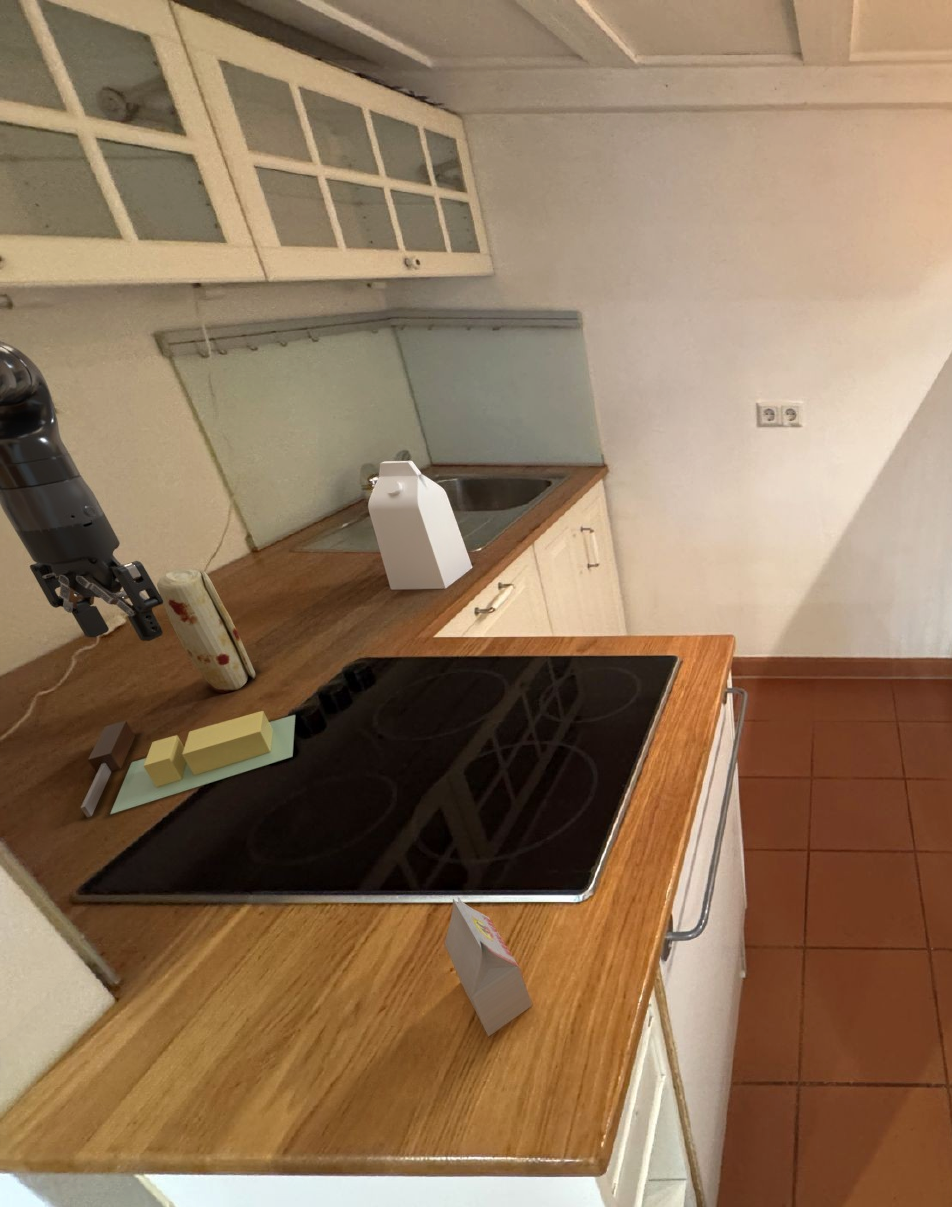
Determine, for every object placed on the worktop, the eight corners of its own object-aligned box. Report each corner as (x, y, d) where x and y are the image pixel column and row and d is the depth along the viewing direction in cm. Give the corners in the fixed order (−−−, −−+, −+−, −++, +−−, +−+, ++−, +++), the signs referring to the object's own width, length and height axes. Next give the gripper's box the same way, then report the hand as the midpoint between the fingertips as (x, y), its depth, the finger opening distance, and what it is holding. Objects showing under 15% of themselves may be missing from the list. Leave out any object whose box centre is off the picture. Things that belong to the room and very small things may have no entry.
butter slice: (156, 787, 83) (143, 765, 82) (164, 762, 88) (152, 741, 86) (182, 779, 85) (169, 757, 83) (189, 755, 89) (177, 734, 88)
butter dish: (113, 820, 80) (109, 814, 79) (135, 768, 89) (131, 762, 88) (295, 762, 89) (292, 756, 88) (297, 720, 98) (295, 714, 97)
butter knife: (80, 826, 79) (64, 803, 77) (117, 746, 93) (104, 726, 91) (105, 818, 80) (90, 796, 78) (138, 741, 94) (126, 720, 93)
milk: (472, 567, 151) (440, 454, 139) (445, 588, 140) (408, 468, 129) (421, 568, 151) (384, 456, 140) (390, 589, 141) (348, 469, 129)
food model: (206, 680, 109) (148, 569, 100) (257, 666, 113) (205, 557, 104) (208, 705, 102) (146, 588, 93) (262, 688, 106) (207, 575, 97)
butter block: (194, 775, 85) (181, 754, 84) (200, 752, 90) (188, 731, 88) (270, 752, 89) (260, 731, 88) (273, 730, 94) (263, 710, 92)
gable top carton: (490, 1042, 55) (458, 963, 50) (463, 988, 59) (430, 911, 55) (534, 1011, 57) (506, 933, 52) (504, 961, 61) (476, 884, 57)
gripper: (-29, 527, 76) (47, 647, 84) (71, 529, 74) (140, 653, 81) (48, 507, 83) (112, 620, 90) (142, 509, 81) (200, 625, 88)
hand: (125, 636), depth 86 cm, fingers open, 8 cm apart
